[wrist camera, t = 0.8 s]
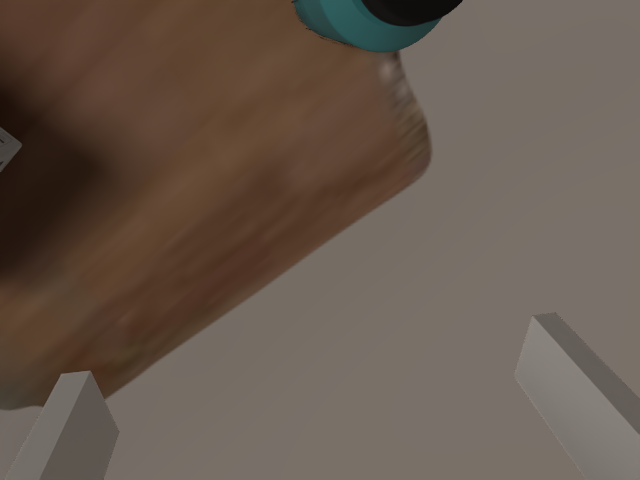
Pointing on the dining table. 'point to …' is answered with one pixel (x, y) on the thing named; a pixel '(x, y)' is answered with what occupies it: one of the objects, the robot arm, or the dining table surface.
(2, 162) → the supplement box
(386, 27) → the beverage bottle
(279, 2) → the dining table surface
